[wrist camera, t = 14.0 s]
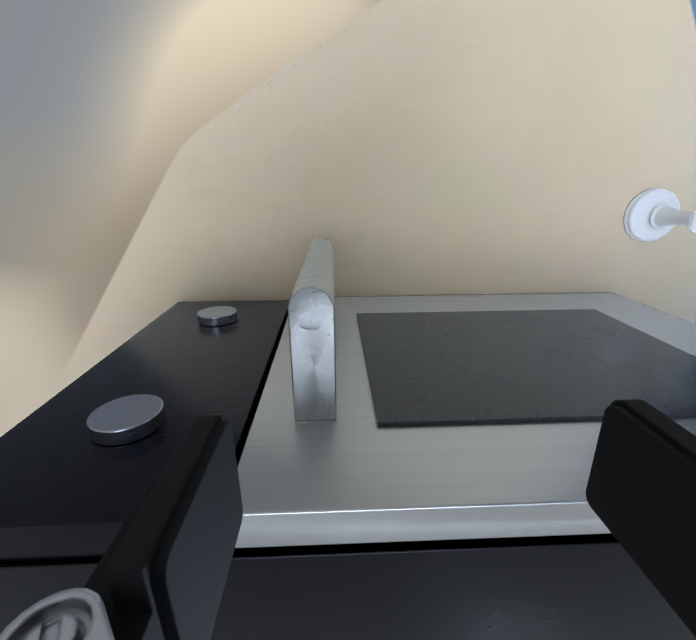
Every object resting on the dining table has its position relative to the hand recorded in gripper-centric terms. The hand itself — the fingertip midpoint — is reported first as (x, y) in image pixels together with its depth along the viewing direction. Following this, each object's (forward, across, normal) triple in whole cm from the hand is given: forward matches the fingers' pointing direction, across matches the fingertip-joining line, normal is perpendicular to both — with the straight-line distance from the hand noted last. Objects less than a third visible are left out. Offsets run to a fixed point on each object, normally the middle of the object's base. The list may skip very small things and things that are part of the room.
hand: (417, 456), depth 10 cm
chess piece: (+29, -29, -3) cm, 41 cm away
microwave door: (+29, -10, +2) cm, 31 cm away
